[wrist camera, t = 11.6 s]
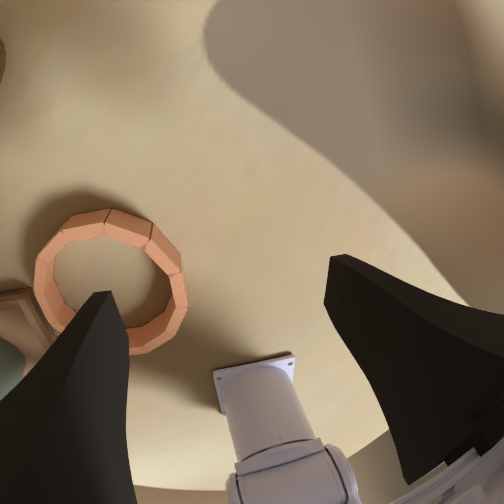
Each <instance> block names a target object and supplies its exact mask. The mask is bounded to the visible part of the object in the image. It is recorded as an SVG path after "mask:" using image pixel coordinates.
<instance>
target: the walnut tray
mask: <svg viewBox="0 0 504 504" xmlns="http://www.w3.org/2000/svg"><path fill="white" fill-rule="evenodd" d="M0 339H1V340H5V341H8V342H10V343H11V344H13V345H14V346H16V347H17V348H18V349H19V350H20V351H21V352H22V353H23V355H24V357H25V359H26V367H25V370H24V373H23V376H22V379H23V378H24V377H25V376H26V375H27V373H28V372H29V371H30V370H31V369H32V368H33V367H34V366H35V365H36V363H37V362H38V361H39V360H40V359H41V358H42V356H43V355H44V354H45V353H46V351H47V350H48V349H49V348H50V346H51V345H52V344H53V343H54V341H55V340H56V339H57V337H56V335H55V333H54V332H53V330H52V328H51V326H50V324H49V323H48V321H47V319H46V317H45V315H44V313H43V311H42V309H41V307H40V305H39V303H38V301H37V299H36V297H35V295H34V292H33V290H32V288H31V287H30V288H23V289H16V290H9V291H1V292H0ZM22 379H21V380H22Z"/></svg>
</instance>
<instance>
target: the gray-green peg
mask: <svg viewBox="0 0 504 504" xmlns="http://www.w3.org/2000/svg"><path fill="white" fill-rule="evenodd" d="M25 367H26V359H25V357H24V355H23V353H22V352H21V351H20V350H19V349H18V348H17V347H16V346H14V345H13V344H11V343H10V342H8V341H5V340H1V339H0V400H1V399H3V398H4V397H5V396H6V395H7V394H8V393H9V392H10V391H11V390H12V389H13V388H14V387H15V386H16V385H17V384H18V383H19V382H20V381H21V379H22V376H23V373H24V370H25Z"/></svg>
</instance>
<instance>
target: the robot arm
mask: <svg viewBox="0 0 504 504" xmlns="http://www.w3.org/2000/svg"><path fill="white" fill-rule="evenodd" d="M324 306H325V308H326V310H327V312H328V315H329V317H330V319H331V321H332V323H333V325H334V327H335V329H336V330H337V332H338V334H339V335H340V337H341V338H342V340H343V341H344V343H345V344H346V346H347V348H348V349H349V351H350V352H351V354H352V355H353V357H354V358H355V360H356V361H357V363H358V365H359V366H360V368H361V369H362V371H363V372H364V374H365V376H366V377H367V379H368V381H369V383H370V385H371V387H372V389H373V391H374V393H375V395H376V398H377V400H378V402H379V404H380V406H381V409H382V411H383V414H384V416H385V419H386V421H387V423H388V426H389V429H390V432H391V435H392V437H393V441H394V443H395V446H396V450H397V454H398V457H399V461H400V464H401V468H402V473H403V477H404V479H405V481H406V482H407V484H408V485H411V484H412V483H414V482H416V481H417V480H419V479H421V478H422V477H424V476H425V475H427V474H428V473H430V472H431V471H433V470H434V469H436V468H437V467H439V466H440V465H442V464H443V463H444V462H445V463H446V464H447V466H448V467H447V468H446V469H444V470H443V471H441V472H440V473H439V474H437V475H436V476H434V477H433V478H431V479H430V480H428V481H427V482H425V483H424V484H422V485H421V486H419V487H418V488H416V489H414V490H413V491H411V492H409V493H407V494H406V495H404V496H402V497H401V498H399V499H397V500H395V501H393V502H392V503H390V504H429V503H430V502H431V501H433V500H434V499H436V498H437V497H439V496H440V495H442V499H441V500H440V501H438V502H436V503H434V504H504V315H501V314H496V313H491V312H487V311H482V310H478V309H475V308H471V307H468V306H464V305H461V304H458V303H455V302H452V301H449V300H447V299H444V298H441V297H438V296H436V295H433V294H431V293H428V292H426V291H424V290H422V289H419V288H417V287H415V286H413V285H410V284H408V283H406V282H404V281H402V280H400V279H398V278H396V277H394V276H392V275H390V274H388V273H386V272H384V271H382V270H380V269H378V268H376V267H374V266H372V265H370V264H368V263H366V262H363V261H361V260H359V259H357V258H355V257H352V256H350V255H347V254H343V255H337V256H331V257H330V262H329V270H328V277H327V284H326V291H325V298H324ZM129 364H130V363H129V336H128V334H127V331H126V329H125V326H124V324H123V321H122V319H121V316H120V314H119V311H118V308H117V306H116V303H115V300H114V298H113V295H112V292H111V290H110V291H102V292H95V293H93V294H92V295H91V296H90V297H89V299H88V300H87V301H86V302H85V303H84V305H83V306H82V307H81V308H80V310H79V311H78V312H77V313H76V315H75V316H74V317H73V319H72V320H71V321H70V322H69V324H68V325H67V326H66V328H65V329H64V330H63V332H62V333H61V334H60V335H59V337H58V338H57V339H56V340H55V341H54V343H53V344H52V345H51V346H50V348H49V349H48V350H47V351H46V353H45V354H44V355H43V356H42V358H41V359H40V360H39V361H38V362H37V363H36V365H35V366H34V367H33V368H32V369H31V370H30V371H29V372H28V373H27V375H26V376H25V377H24V378H23V379H22V380H21V381H20V382H19V383H18V384H17V385H16V386H15V387H14V388H13V389H12V390H11V391H10V392H9V393H8V394H7V395H6V396H5V397H4V398H3V399H1V400H0V504H137V500H136V496H135V492H134V487H133V482H132V477H131V471H130V465H129V458H128V450H127V440H126V406H127V390H128V377H129ZM294 367H295V356H294V355H287V356H283V357H279V358H274V359H270V360H265V361H261V362H256V363H251V364H246V365H241V366H236V367H230V368H225V369H219V370H215V371H214V372H213V377H214V382H215V386H216V391H217V395H218V399H219V404H220V408H221V412H222V416H223V418H227V421H228V425H229V429H230V433H231V437H232V441H233V445H234V449H235V453H236V456H237V460H238V463H235V464H234V465H235V468H236V473H231V474H230V475H229V478H228V479H227V481H226V494H227V498H228V503H229V504H361V501H360V498H359V495H358V487H357V482H356V479H355V476H354V473H353V471H352V468H351V466H350V464H349V462H348V460H347V458H346V457H345V455H344V453H343V452H342V451H341V449H340V448H338V447H336V446H333V445H332V444H327V445H325V446H324V445H323V443H322V441H321V439H320V438H317V439H316V437H315V435H314V433H313V431H312V428H311V426H310V424H309V421H308V419H307V417H306V415H305V412H304V410H303V408H302V405H301V403H300V401H299V398H298V396H297V394H296V391H295V389H294V387H293V385H292V382H293V375H294Z"/></svg>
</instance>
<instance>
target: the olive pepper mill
mask: <svg viewBox="0 0 504 504" xmlns="http://www.w3.org/2000/svg"><path fill="white" fill-rule="evenodd" d="M5 54H6V53H5V49H4V44H3V42H2V41H1V39H0V82H1V79H2V75H3V71H4V68H5Z"/></svg>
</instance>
